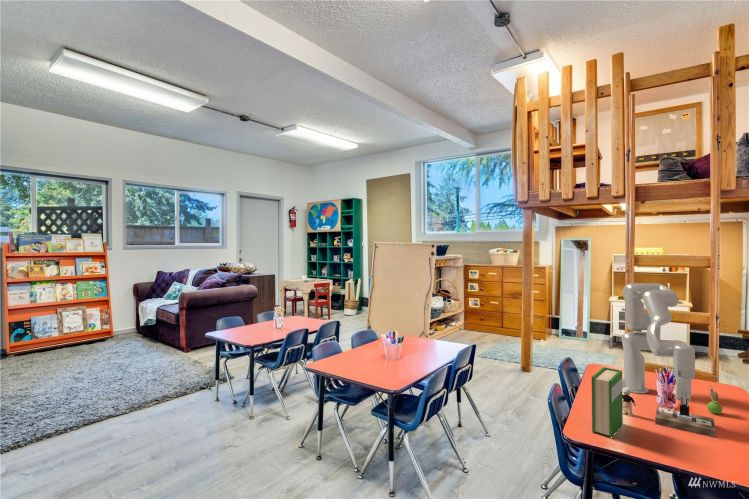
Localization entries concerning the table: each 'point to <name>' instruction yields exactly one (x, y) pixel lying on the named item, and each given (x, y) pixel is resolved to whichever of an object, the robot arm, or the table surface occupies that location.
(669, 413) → the two dot tile
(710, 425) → the cream knobbed tile
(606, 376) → the hardback book
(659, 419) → the counting board
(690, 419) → the three dot tile
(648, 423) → the table surface
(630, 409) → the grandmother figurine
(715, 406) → the snail figurine
